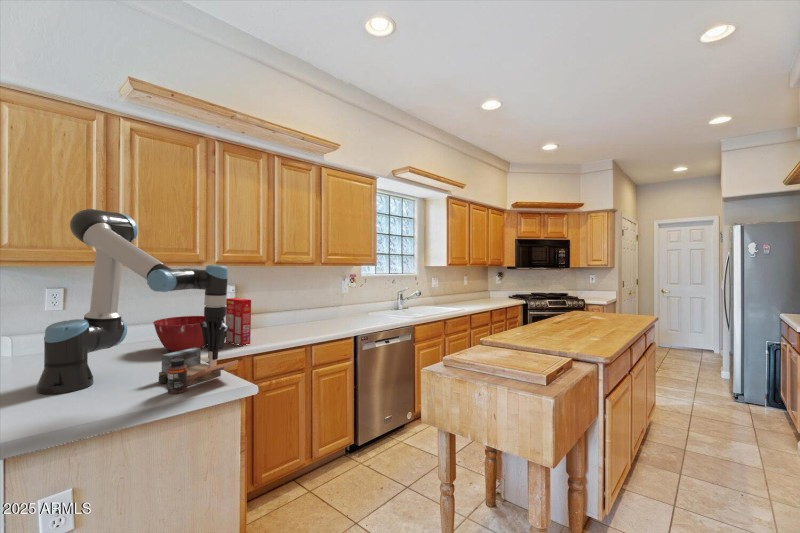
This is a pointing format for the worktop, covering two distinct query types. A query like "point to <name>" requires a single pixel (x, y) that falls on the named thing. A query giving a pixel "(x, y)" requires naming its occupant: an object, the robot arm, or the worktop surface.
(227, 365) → the tailgate
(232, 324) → the food packaging
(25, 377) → the worktop surface
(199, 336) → the mixing bowl
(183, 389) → the supplement bottle
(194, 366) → the flatbed
